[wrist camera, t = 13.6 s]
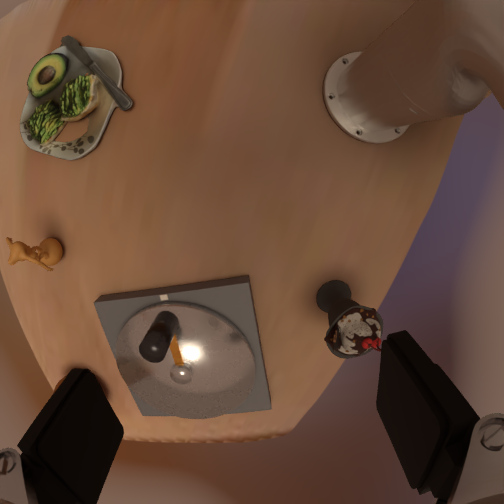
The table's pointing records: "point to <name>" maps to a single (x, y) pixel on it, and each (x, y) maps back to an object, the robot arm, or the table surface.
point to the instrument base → (203, 294)
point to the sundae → (348, 322)
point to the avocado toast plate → (71, 98)
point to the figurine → (46, 253)
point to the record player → (185, 360)
